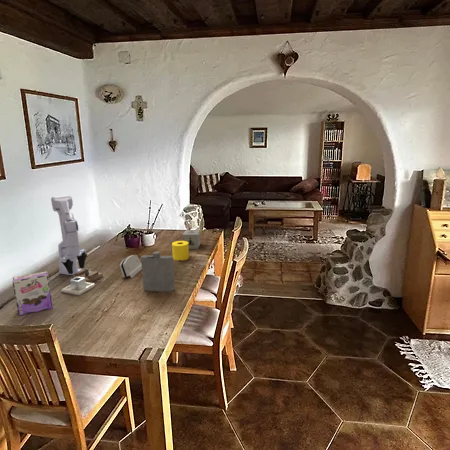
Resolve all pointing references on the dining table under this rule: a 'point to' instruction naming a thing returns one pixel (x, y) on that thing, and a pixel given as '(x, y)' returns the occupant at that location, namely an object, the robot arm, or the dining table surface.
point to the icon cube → (192, 238)
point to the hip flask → (157, 272)
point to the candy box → (32, 293)
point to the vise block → (88, 275)
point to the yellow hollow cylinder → (180, 250)
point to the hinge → (130, 266)
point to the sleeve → (78, 283)
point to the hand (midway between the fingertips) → (76, 270)
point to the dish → (68, 290)
